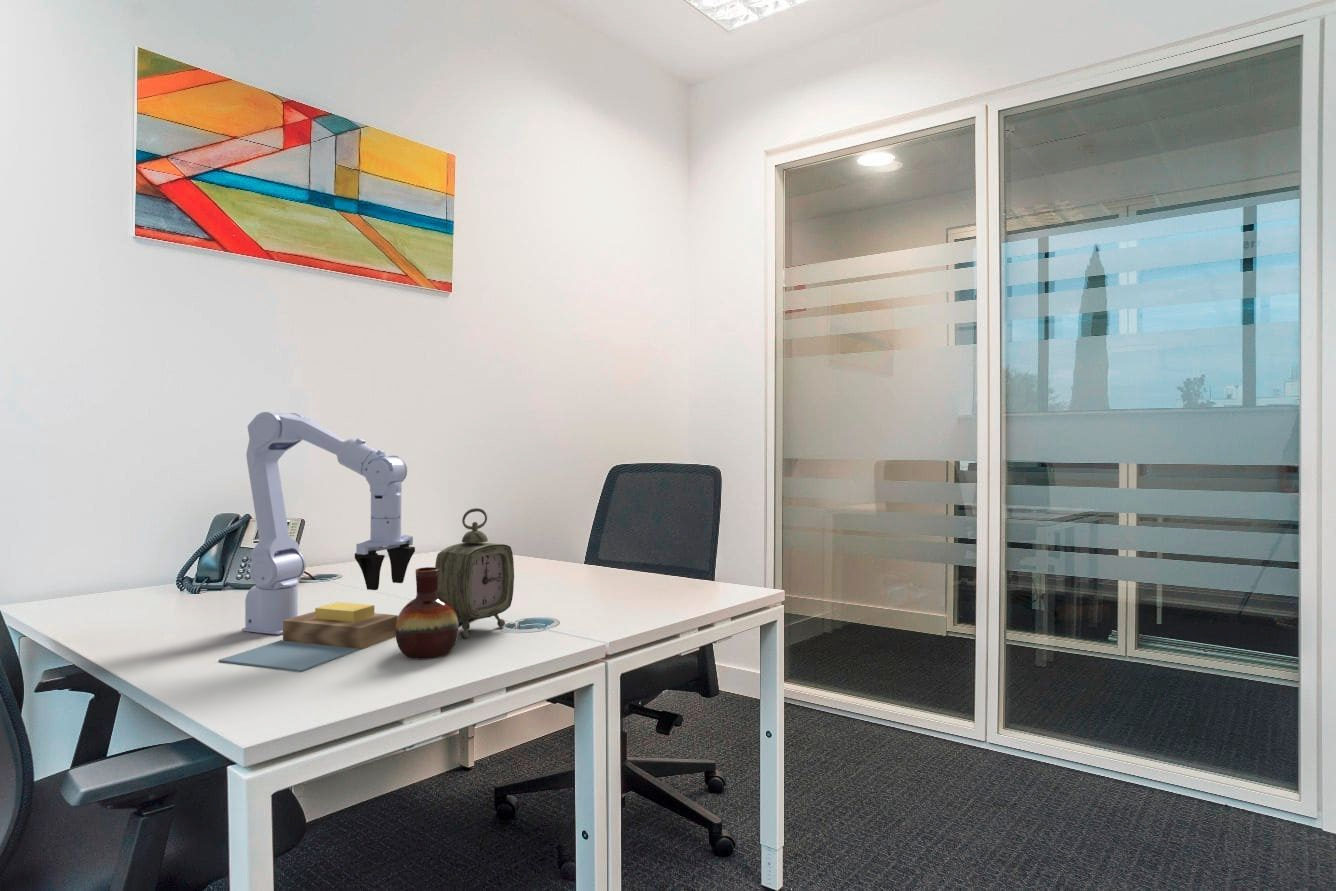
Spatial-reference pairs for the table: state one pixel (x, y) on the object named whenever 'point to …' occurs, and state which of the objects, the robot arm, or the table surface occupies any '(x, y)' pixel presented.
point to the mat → (289, 655)
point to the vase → (426, 620)
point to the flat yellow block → (344, 611)
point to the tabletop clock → (476, 576)
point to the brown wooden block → (340, 630)
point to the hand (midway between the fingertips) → (385, 586)
